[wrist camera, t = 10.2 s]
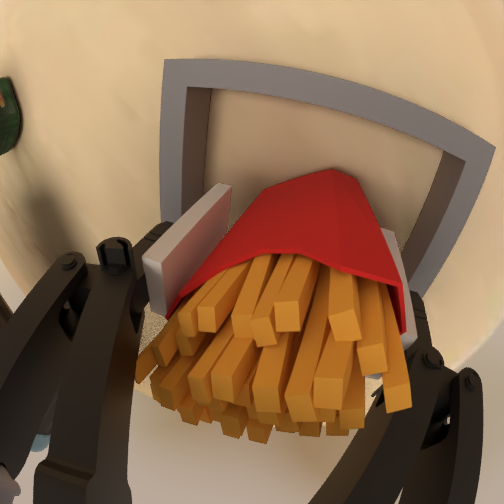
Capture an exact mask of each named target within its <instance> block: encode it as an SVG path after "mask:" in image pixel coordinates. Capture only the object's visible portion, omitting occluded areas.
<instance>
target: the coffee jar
mask: <svg viewBox="0 0 504 504" xmlns="http://www.w3.org/2000/svg"><path fill="white" fill-rule="evenodd" d="M19 123H20V114H19V110H18V107H17V103H16V100H15V97H14V93H13V90H12V88H11V85H10V83H9V81H8V79H6V78H4V77H3V78H0V155H2V154H4V153H7V152H8V151H10V150H11V148H12V147H13V145H14V144H15V142H16V140H17V137H18V131H19Z"/></svg>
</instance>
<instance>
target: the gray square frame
mask: <svg viewBox="0 0 504 504" xmlns="http://www.w3.org/2000/svg"><path fill="white" fill-rule="evenodd" d="M211 88H217V89H227V90H236V91H244V92H252V93H258V94H265V95H271V96H276V97H282V98H287V99H292V100H297V101H301V102H306V103H310V104H315V105H319V106H323V107H327V108H330V109H334V110H338V111H341V112H345V113H348V114H352V115H355V116H358V117H361V118H364V119H367V120H370V121H373V122H376V123H379V124H382V125H385V126H388V127H390V128H393V129H396V130H398V131H401V132H403V133H406V134H408V135H411V136H413V137H416V138H418V139H420V140H423V141H425V142H427V143H429V144H432V145H434V146H436V147H438V148H440V149H442V150H444V153H443V156H442V159H441V162H440V165H439V168H438V171H437V173H436V176H435V179H434V181H433V184H432V187H431V189H430V192H429V194H428V197H427V199H426V201H425V204H424V206H423V209H422V211H421V213H420V215H419V218H418V220H417V222H416V224H415V227H414V229H413V231H412V233H411V235H410V237H409V239H408V241H407V243H406V245H405V247H404V249H403V251H402V253H401V259H402V262H403V266H404V270H405V275H406V279H407V283H408V288H409V290H411V291H415V292H418V294H419V296H420V297H421V299H422V297H423V296H424V294H425V293H426V291H427V290H428V288H429V287H430V285H431V284H432V282H433V281H434V279H435V277H436V276H437V274H438V272H439V271H440V269H441V268H442V266H443V264H444V262H445V261H446V259H447V257H448V256H449V254H450V252H451V250H452V248H453V247H454V245H455V243H456V241H457V239H458V237H459V235H460V233H461V231H462V229H463V227H464V225H465V223H466V221H467V219H468V217H469V215H470V213H471V211H472V208H473V206H474V204H475V202H476V199H477V197H478V195H479V192H480V190H481V188H482V185H483V183H484V180H485V177H486V175H487V172H488V169H489V167H490V164H491V161H492V158H493V155H494V152H495V149H496V147H495V146H493V145H492V144H490V143H488V142H487V141H485V140H484V139H482V138H480V137H479V136H477V135H475V134H474V133H472V132H470V131H468V130H467V129H465V128H463V127H461V126H459V125H458V124H456V123H454V122H452V121H450V120H448V119H446V118H444V117H442V116H440V115H438V114H436V113H434V112H432V111H429V110H427V109H425V108H423V107H420V106H418V105H416V104H414V103H411V102H409V101H406V100H404V99H401V98H399V97H396V96H393V95H391V94H388V93H385V92H382V91H380V90H377V89H374V88H371V87H367V86H364V85H361V84H358V83H354V82H351V81H347V80H344V79H340V78H336V77H332V76H328V75H324V74H320V73H315V72H311V71H306V70H301V69H296V68H290V67H284V66H278V65H271V64H264V63H255V62H246V61H234V60H218V59H165V60H164V70H163V82H162V96H161V114H160V152H159V170H160V209H161V223H163V222H165V221H169V222H173V223H175V222H176V221H177V220H178V219H179V218H180V217H181V216H183V215H184V214H185V213H186V212H187V211H188V210H189V209H190V208H191V207H192V206H193V205H194V204H195V203H196V202H197V201H198V200H199V199H201V198H202V197H203V180H204V165H205V151H206V139H207V127H208V117H209V107H210V97H211Z"/></svg>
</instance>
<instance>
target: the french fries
mask: <svg viewBox="0 0 504 504" xmlns="http://www.w3.org/2000/svg"><path fill="white" fill-rule="evenodd" d="M165 318H166V319H167V321H168V322H167V324H166V325H165V327H164V328H163V329H162V331H161V332H160V333H159V334H158V335H157V336H156V337H155V338H154V339H153V341H152V342H151V343H150V344H149V345H148V346H147V347H146V348H145V349H144V350H143V351H142V352H141V353H140V354H139V355H138V358H137V361H136V372H135V381H136V383H138V384H140V383H141V382H142V381H143V380H144V379H145V377H146V376H147V375H148V374H149V373H150V372H151V371H152V369H153V368H154V367H155V366H156V365H157V364H158V367H157V369H156V370H155V371H154V372H153V373H152V375H151V376H150V380H151V384H150V385H151V390H152V394H153V398H154V400H156V401H157V402H159V403H160V404H161V406H163V407H165V408H168V409H171V410H173V411H175V409H176V408H177V410H178V412H179V413H180V415H181V418H182V421H183V422H186V423H190V424H193V425H198V422H199V420H201V421H204V422H207V423H212V421H213V420H214V421H218V422H220V423H221V426H222V431H223V434H224V435H227V436H231V437H234V438H237V439H239V438H240V436H242V434H243V432H244V429H245V427H247V432H248V437H249V440H251V441H255V442H259V443H264V444H267V441H268V438H269V435H270V433H271V430H272V427H273V425H275V427H276V431H282V432H289V433H295V432H299V435H300V436H313V437H314V436H315V437H320V432H321V427H322V422H326V435H329V436H348V434H349V429H360V428H364V423H365V376H366V375H371V374H376V373H381V372H382V380H383V389H384V396H385V404H386V411H387V413H391V412H395V411H399V410H403V409H407V408H410V407H412V401H411V390H410V381H409V375H408V370H407V365H406V360H405V355H404V351H403V346H402V342H401V338H400V336H401V335H402V334H404V333H405V332H407V330H406V314H405V302H404V292H403V283H402V280H401V278H400V275H399V272H398V270H397V267H396V265H395V262H394V259H393V257H392V254H391V252H390V250H389V247H388V245H387V242H386V240H385V238H384V235H383V233H382V231H381V229H380V226H379V224H378V222H377V220H376V218H375V215H374V213H373V211H372V209H371V207H370V205H369V203H368V201H367V199H366V197H365V195H364V193H363V191H362V189H361V187H360V185H359V183H358V181H357V179H355V178H353V177H351V176H348V175H346V174H343V173H341V172H338V171H336V170H333V169H329V170H325V171H320V172H316V173H312V174H309V175H305V176H302V177H298V178H295V179H292V180H289V181H286V182H283V183H280V184H277V185H275V186H272V187H269V188H267V189H264V190H263V191H262V192H261V194H260V195H259V196H258V197H257V198H256V199H255V201H254V202H253V203H252V204H251V205H250V207H249V208H248V209H247V210H246V211H245V212H244V214H243V215H242V216H241V217H240V218H239V220H238V221H237V222H236V223H235V224H234V226H233V227H232V228H231V229H230V231H229V232H228V233H227V234H226V235H225V237H224V238H223V239H222V240H221V241H220V243H219V244H218V245H217V246H216V248H215V249H214V250H213V251H212V253H211V254H210V255H209V256H208V257H207V259H206V260H205V261H204V262H203V264H202V265H201V266H200V267H199V269H198V270H197V271H196V272H195V274H194V275H193V276H192V277H191V279H190V280H189V281H188V282H187V284H186V285H185V286H184V288H183V289H182V290H181V291H180V293H179V294H178V295H177V297H176V299H175V300H174V302H173V304H172V305H171V307H170V309H169V310H168V312H167V314H166V315H165Z"/></svg>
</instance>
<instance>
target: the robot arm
mask: <svg viewBox="0 0 504 504" xmlns="http://www.w3.org/2000/svg"><path fill="white" fill-rule="evenodd" d="M231 191H232V186H231V185H227V184H222V183H217V184H216V185H215V186H214V187H213V188H211V189H210V190H209V191H208V192H207V193H206V194H205V195H204V196H203V197H202V198H201V199H199V200H198V201H197V202H196V203H195V204H194V205H193V206H192V207H191V208H190V209H189V210H188V211H187V212H186V213H185V214H184V215H183V216H181V217H180V218H179V219H178V220H177V221H176V222H175V223H173V222H169V221H165V222H163V223H160V224H158V225H156V226H155V227H154V228H153V229H152V230H151V231H150V232H149V233H148V234H146V235H145V236H144V238H142V239H141V240H140V241H139V242H138V243H137V244H136V245H135V246H134V247H133V248H132V244H131V243H130V241H129V240H127V239H126V238H122V237H112V238H109V239H106V240H104V241H102V242H101V243H99V245H98V246H97V247H96V250H97V254H98V258H99V261H100V265H97V264H87V263H86V261H85V258H84V256H83V255H82V254H81V253H79V252H70V253H66V254H64V255H62V256H61V257H60V258H59V259H57V261H56V262H55V263H54V264H53V265H52V266H51V267H50V269H49V270H48V271H47V272H46V273H45V274H44V276H43V277H42V278H41V279H40V280H39V282H38V283H37V284H36V285H35V286H34V288H33V289H32V290H31V291H30V293H29V294H28V295H27V297H26V298H25V299H24V300H23V302H22V303H21V305H20V306H19V307H18V309H17V310H16V311H15V313H13V312H12V310H11V309H10V307H9V306H8V305H7V303H6V302H5V300H4V298H3V297H2V295H1V294H0V504H12V502H13V499H14V496H19V494H20V493H21V489H20V486H19V485H18V483H17V482H16V481H15V478H16V477H17V476H18V474H19V473H20V471H21V470H22V468H23V466H24V464H25V462H26V459H27V457H28V455H29V452H30V451H33V452H39V451H42V450H44V449H45V448H46V447H47V446H48V445H49V451H48V455H47V457H46V459H45V460H43V461H42V462H40V463H39V464H38V466H37V467H36V469H35V474H34V487H33V488H34V489H33V491H34V492H33V504H132V497H131V490H130V487H129V485H128V481H127V464H128V463H127V462H128V442H129V427H130V415H131V405H132V396H133V387H134V379H135V372H136V361H137V358H138V352H139V346H140V340H141V334H142V328H143V323H144V318H145V312H144V308H145V306H146V305H147V304H148V302H149V303H150V308H151V311H153V312H155V313H157V314H160V315H162V316H165V315H166V314H167V312H168V310H169V309H170V307H171V305H172V304H173V302H174V300H175V299H176V297H177V295H178V294H179V293H180V291H181V290H182V289H183V288H184V286H185V285H186V284H187V282H188V281H189V280H190V279H191V277H192V276H193V275H194V274H195V272H196V271H197V270H198V269H199V267H200V266H201V265H202V264H203V262H204V261H205V260H206V259H207V257H208V256H209V255H210V254H211V253H212V251H213V250H214V249H215V248H216V246H217V245H218V243H219V242H220V241H221V239H222V238H223V236H224V235H225V233H226V232H227V228H228V218H229V209H230V200H231ZM380 229H381V231H382V233H383V235H384V238H385V240H386V242H387V245H388V247H389V250H390V252H391V254H392V257H393V259H394V262H395V265H396V267H397V270H398V272H399V275H400V278H401V280H402V283H403V292H404V302H405V314H406V330H407V332H405V333H404V334H402V335H401V336H400V338H401V342H402V346H403V351H404V355H405V360H406V365H407V370H408V375H409V381H410V390H411V401H412V407H410V408H407V409H403V410H399V411H395V412H391V413H387V411H386V404H385V396H384V389H383V384H382V385H381V386H380V387H379V388H378V389H377V390H376V391H375V392H374V393H373V394H372V395H371V396H372V397H374V396H375V395H376V394H377V395H376V397H375V399H374V401H373V403H372V405H371V407H370V409H369V411H368V413H367V415H366V417H365V423H364V428H360V429H358V431H357V433H356V435H355V436H354V438H353V440H352V441H351V443H350V445H349V446H348V448H347V450H346V451H345V453H344V454H343V456H342V457H341V459H340V461H339V462H338V464H337V465H336V467H335V468H334V470H333V471H332V472H331V474H330V475H329V477H328V478H327V480H326V481H325V482H324V484H323V485H322V486H321V488H320V489H319V490H318V492H317V493H316V494H315V495H314V497H313V498H312V499H311V501H310V502H309V503H308V504H394V503H395V501H396V499H397V498H398V496H399V494H400V492H401V490H402V488H403V491H402V494H401V497H400V500H399V504H474V503H475V498H476V493H477V488H478V482H479V475H480V467H481V458H482V445H483V444H482V443H483V392H482V383H481V379H480V377H479V375H478V374H477V372H476V371H475V370H473V369H471V368H467V367H466V368H464V369H462V370H461V371H460V372H459V373H456V372H454V371H452V370H451V369H449V368H447V367H445V366H444V360H443V357H442V355H441V354H440V353H439V351H438V350H437V349H435V348H434V347H432V342H431V336H430V331H429V326H428V321H427V316H426V313H425V307H424V303H423V300H422V299H421V297H420V296H419V294H418V292H415V291H411V290H409V288H408V283H407V279H406V275H405V270H404V266H403V262H402V259H401V255H400V251H399V247H398V244H397V240H396V237H395V234H394V232H393V231H390V230H387V229H384V228H380ZM365 377H368V378H373V379H380V378H381V377H382V372H381V373H376V374H371V375H366V376H365ZM448 417H450V423H449V424H447V418H448ZM403 486H404V487H403Z"/></svg>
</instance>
